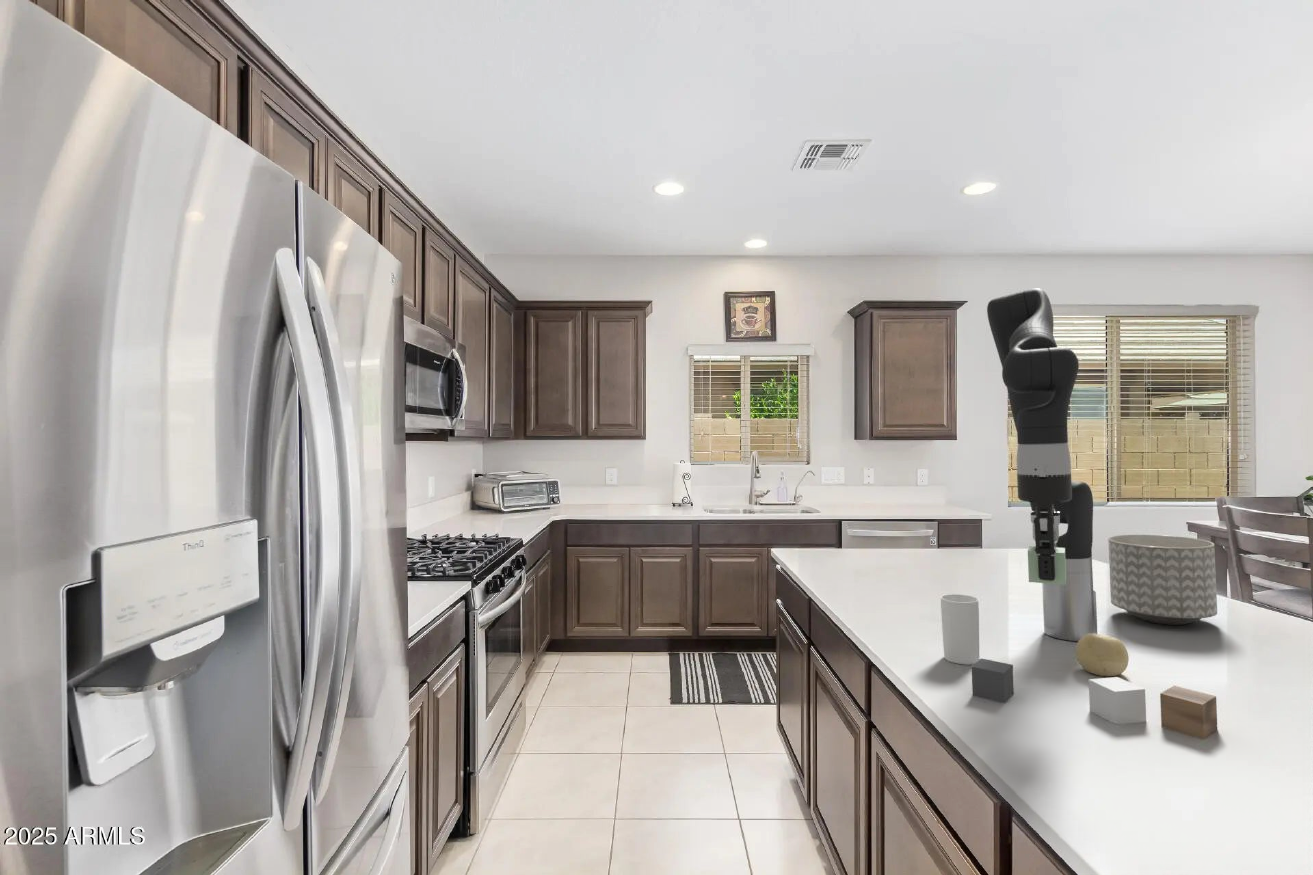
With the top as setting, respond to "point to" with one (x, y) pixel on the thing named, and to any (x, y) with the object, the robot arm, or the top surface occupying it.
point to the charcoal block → (992, 680)
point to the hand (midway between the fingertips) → (1047, 575)
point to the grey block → (1117, 700)
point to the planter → (1163, 577)
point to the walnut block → (1188, 712)
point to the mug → (960, 628)
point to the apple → (1102, 655)
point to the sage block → (1059, 567)
